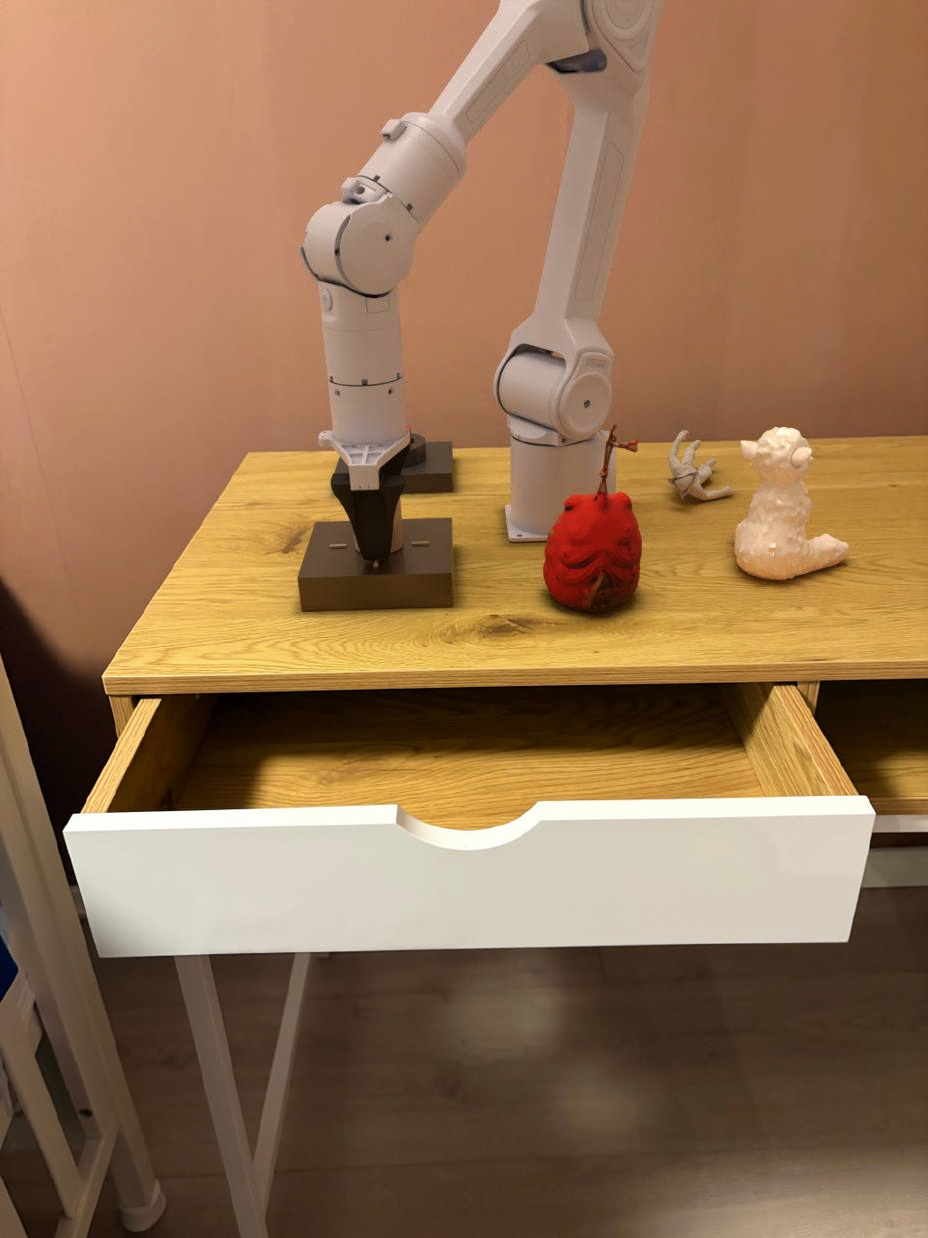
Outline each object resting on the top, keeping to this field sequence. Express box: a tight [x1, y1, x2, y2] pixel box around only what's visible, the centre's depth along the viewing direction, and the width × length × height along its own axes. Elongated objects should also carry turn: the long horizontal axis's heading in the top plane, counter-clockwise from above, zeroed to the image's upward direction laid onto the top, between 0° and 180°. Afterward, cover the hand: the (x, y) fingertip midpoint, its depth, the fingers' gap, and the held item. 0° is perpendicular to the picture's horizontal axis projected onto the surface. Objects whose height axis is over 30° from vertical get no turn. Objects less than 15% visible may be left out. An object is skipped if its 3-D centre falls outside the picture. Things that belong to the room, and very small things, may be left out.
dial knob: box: [354, 497, 403, 553], centre depth 76 cm, size 4×4×4 cm
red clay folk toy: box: [542, 423, 643, 613], centre depth 71 cm, size 8×7×15 cm
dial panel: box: [296, 517, 454, 612], centre depth 78 cm, size 12×11×3 cm
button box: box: [334, 432, 454, 495], centre depth 99 cm, size 12×10×4 cm
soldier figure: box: [666, 430, 735, 501], centre depth 93 cm, size 8×5×12 cm
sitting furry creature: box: [733, 426, 850, 581], centre depth 76 cm, size 10×9×12 cm
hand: (379, 541), depth 77 cm, fingers open, 6 cm apart
